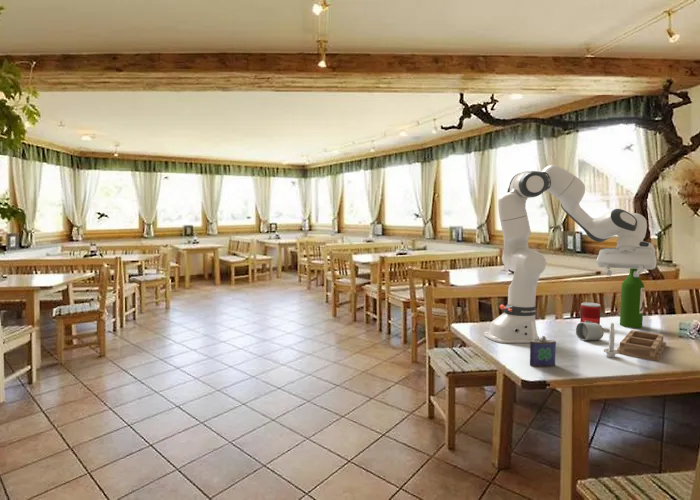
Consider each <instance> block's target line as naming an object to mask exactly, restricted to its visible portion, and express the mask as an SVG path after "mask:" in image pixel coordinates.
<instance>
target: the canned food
mask: <svg viewBox="0 0 700 500" xmlns="http://www.w3.org/2000/svg"><path fill="white" fill-rule="evenodd" d="M600 320H601V304H600V303H596V302H586V301H585V302H582V303H581V304H580V321H579V323H580V322H586V323H597V324H600V325H601V321H600Z"/></svg>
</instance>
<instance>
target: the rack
mask: <svg viewBox="0 0 700 500" xmlns="http://www.w3.org/2000/svg"><path fill="white" fill-rule="evenodd" d="M664 336H665V335H664V334H661V333H654V332H645V331H642V330H641V331H640V330H633V329H630V331H629V332H628V333H627V334H626V335H625V336H624V338H623V339H621V341H620V342H619V347H618V348H617V349H616V350H617V351H618V352H619V354H620V355H626V356H629V357H630V356H631V357H637V358H641V359H645V360H652V361H657V362H658V361H659V360H660V358H661V356H662V354H663V352H664V350H665V349H666V346H667V342H665V341H664Z"/></svg>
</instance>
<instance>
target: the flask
mask: <svg viewBox="0 0 700 500" xmlns="http://www.w3.org/2000/svg"><path fill="white" fill-rule="evenodd" d="M556 344H557V341H556V340H555V339H554V340H553V339H548V337H546V336H545V335H542V337H541V338H540V339H537V340H536V339H535V340H532V341H530V344H529V345H530V347H529V366H530V367H534V368H545V367H547V368H548V367H555V366H556V350H557V349H556V348H557V346H556Z"/></svg>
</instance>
